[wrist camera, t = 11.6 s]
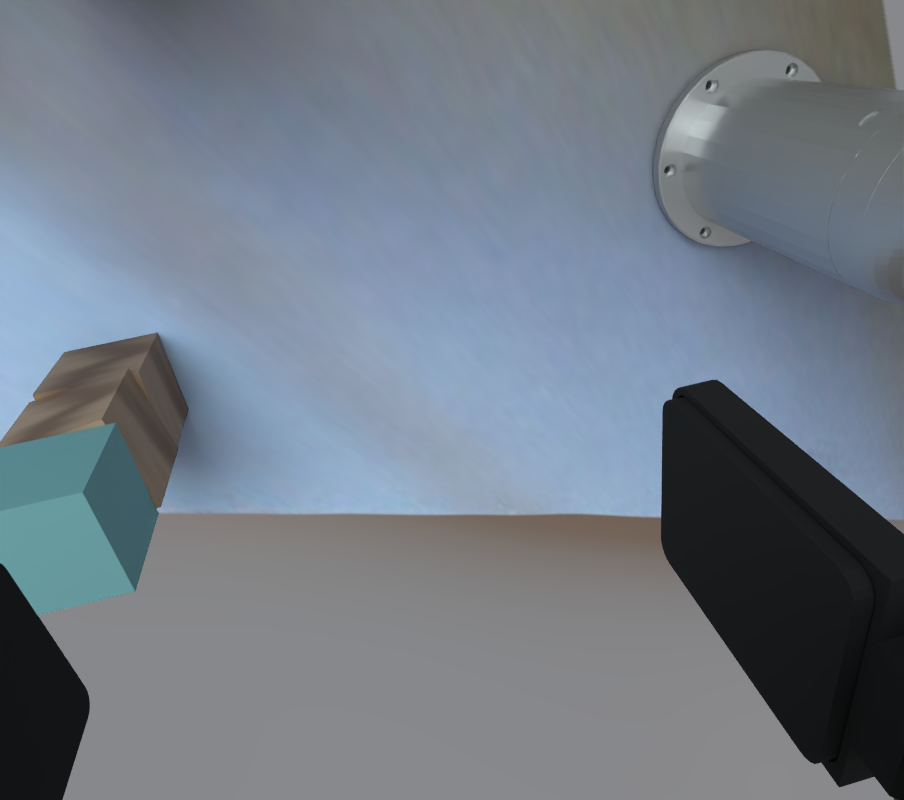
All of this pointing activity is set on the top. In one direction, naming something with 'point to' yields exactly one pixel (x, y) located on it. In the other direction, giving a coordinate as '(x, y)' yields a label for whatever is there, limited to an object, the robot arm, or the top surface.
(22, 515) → the teal block
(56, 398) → the tower mid
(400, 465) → the top surface
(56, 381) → the tower base
